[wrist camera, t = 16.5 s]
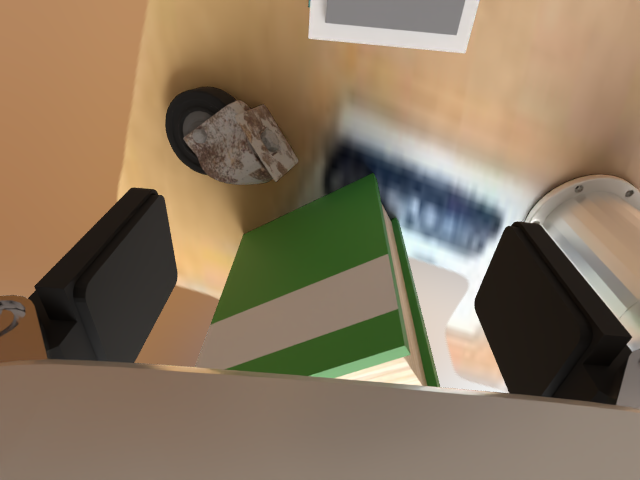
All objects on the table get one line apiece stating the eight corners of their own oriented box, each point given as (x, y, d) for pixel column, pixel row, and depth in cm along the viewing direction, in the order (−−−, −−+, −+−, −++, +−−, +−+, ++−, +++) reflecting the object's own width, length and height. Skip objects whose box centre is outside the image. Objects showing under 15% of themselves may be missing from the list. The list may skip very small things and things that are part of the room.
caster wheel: (176, 109, 41) (242, 57, 37) (235, 197, 45) (303, 158, 40) (134, 122, 36) (206, 62, 31) (205, 221, 39) (280, 179, 34)
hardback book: (373, 172, 42) (404, 345, 22) (399, 223, 46) (446, 410, 26) (243, 234, 47) (176, 417, 28) (275, 275, 51) (236, 463, 31)
